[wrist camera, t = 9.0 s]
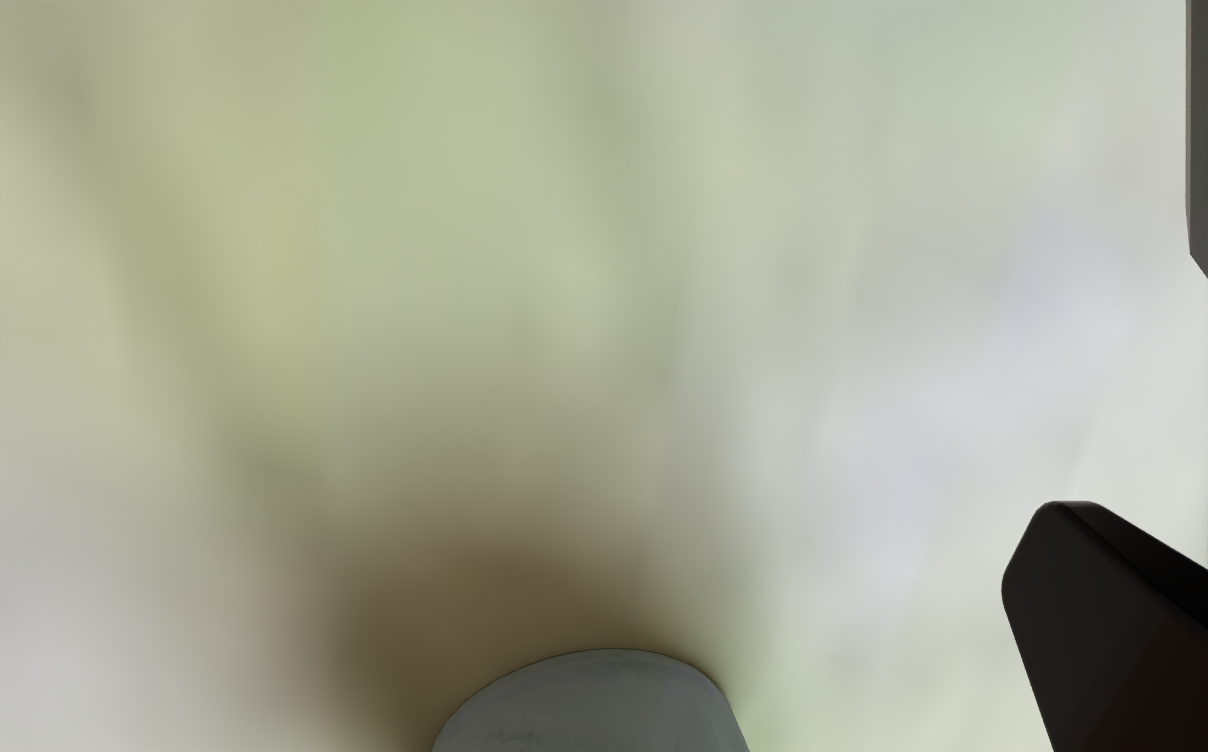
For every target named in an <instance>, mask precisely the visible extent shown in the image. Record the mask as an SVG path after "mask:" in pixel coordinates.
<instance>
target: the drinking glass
mask: <svg viewBox="0 0 1208 752" xmlns="http://www.w3.org/2000/svg"><path fill="white" fill-rule="evenodd" d="M431 752H750V751H749V749H748V746H747V744H746V741H745V739H744V737H743V734H742V732H741V730H740V728H739V725H738V723H737V721H736V719H735V716H734V714H733V712H732V710H731V707H730V705H729V703H728V701H727V699H726V698H725V697H724V695H723V694H722V693H721V691H720V690H719V689H718V688H717V687H716V685H715V684H714V683H713V682H712V681H711V680H710V679H708V678H707V677H706V676H705V675H704V674H702V673H701V672H700V671H699V670H697V669H696V668H694V667H693V666H691V665H689V664H686V663H684V662H681V661H679V660H677V659H674V658H672V657H668V656H665V655H661V654H658V653H653V652H647V651H642V650H628V649H596V650H588V651H581V652H575V653H570V654H566V655H561V656H557V657H553V658H549V659H545V660H542V661H540V662H537V663H534V664H531V665H528V666H526V667H524V668H521V669H519V670H516V671H514V672H512V673H510V674H508V675H506V676H504V677H501V678H499V679H497V680H496V681H494V682H493V683H491V684H490V685H488V686H487V687H485V688H484V689H482V690H481V691H479V692H478V693H476V694H475V695H474V696H472V697H471V698H470V699H468V700H467V701H466V702H465V703H464V704H463V705H462V706H461V707H460V708H459V709H458V710H457V711H456V712H455V713H454V714H453V715H452V716H451V717H450V718H449V719H448V720H447V722H446V723H445V725H444V726H443V728H442V729H441V731H440V732H439V734H438V735H437V738H436V740H435V743H434V745H433V748H432V750H431Z"/></svg>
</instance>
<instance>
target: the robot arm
mask: <svg viewBox="0 0 1208 752" xmlns="http://www.w3.org/2000/svg"><path fill="white" fill-rule="evenodd" d="M1186 216H1187V227H1188V238H1189V249H1190V255H1191V256H1192V258H1193V259H1194V260H1195V262H1196V263H1197V264H1198V266H1199V267H1200V269H1201V270H1202V271H1203V273H1204V274H1205V275H1206V277H1207V278H1208V0H1186ZM1001 593H1002V601H1003V605H1004V609H1005V611H1006V614H1007V617H1008V620H1009V623H1010V626H1011V629H1012V632H1013V635H1014V638H1015V640H1016V643H1017V646H1018V649H1019V652H1020V655H1021V658H1022V661H1023V664H1024V667H1025V669H1026V672H1027V675H1028V678H1029V681H1030V684H1031V687H1032V690H1033V693H1034V696H1035V698H1036V701H1037V704H1038V707H1039V710H1040V713H1041V716H1042V719H1043V722H1044V725H1045V728H1046V730H1047V733H1048V736H1049V739H1050V742H1051V745H1052V748H1053V750H1054V752H1208V569H1206V568H1204V567H1203V566H1201V565H1199V564H1198V563H1196V562H1194V561H1193V560H1191V559H1189V558H1188V557H1186V556H1185V555H1183V554H1181V553H1180V552H1178V551H1176V550H1175V549H1173V548H1171V547H1170V546H1168V545H1166V544H1165V543H1163V542H1161V541H1160V540H1158V539H1156V538H1155V537H1153V536H1151V535H1150V534H1148V533H1146V532H1145V531H1143V530H1141V529H1140V528H1138V527H1136V526H1135V525H1133V524H1131V523H1130V522H1128V521H1127V520H1125V519H1123V518H1122V517H1120V516H1118V515H1117V514H1115V513H1113V512H1112V511H1110V510H1108V509H1107V508H1105V507H1103V506H1101V505H1099V504H1097V503H1094V502H1089V501H1051V502H1048V503H1045V504H1044V505H1042V506H1041V507H1040V508H1039V509H1038V510H1037V511H1036V512H1035V514H1034V515H1033V517H1032V519H1031V521H1030V523H1029V525H1028V527H1027V529H1026V531H1025V532H1024V534H1023V536H1022V538H1021V540H1020V542H1019V544H1018V546H1017V548H1016V550H1015V552H1014V554H1013V556H1012V558H1011V560H1010V562H1009V564H1008V566H1007V568H1006V570H1005V572H1004V575H1003V579H1002V589H1001Z"/></svg>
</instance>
